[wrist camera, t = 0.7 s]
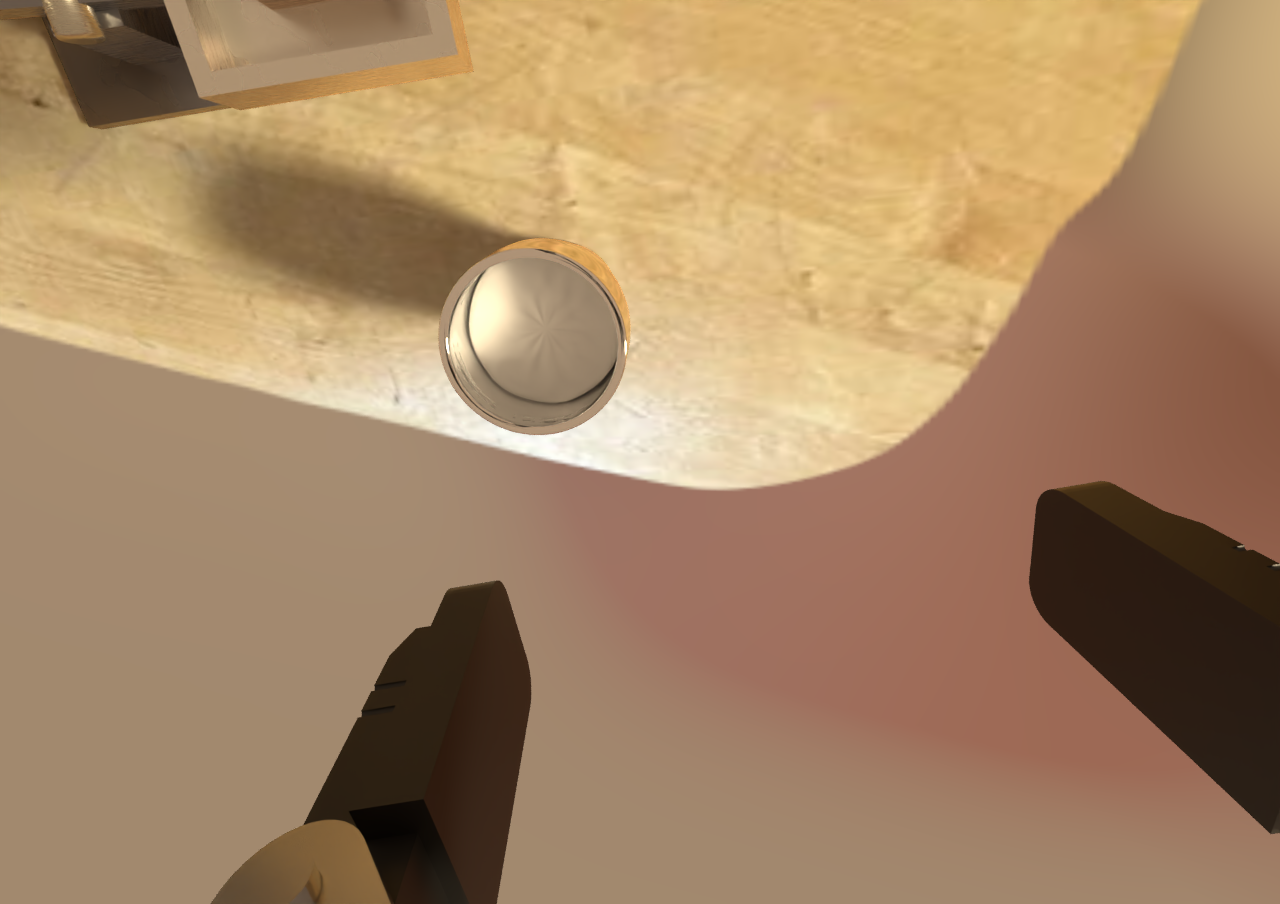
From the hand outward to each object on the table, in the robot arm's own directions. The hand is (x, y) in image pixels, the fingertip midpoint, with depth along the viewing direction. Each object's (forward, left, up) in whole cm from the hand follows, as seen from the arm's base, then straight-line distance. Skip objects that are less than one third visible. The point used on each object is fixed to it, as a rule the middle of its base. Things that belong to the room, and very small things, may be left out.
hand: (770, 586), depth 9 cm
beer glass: (-2, -5, -28) cm, 29 cm away
